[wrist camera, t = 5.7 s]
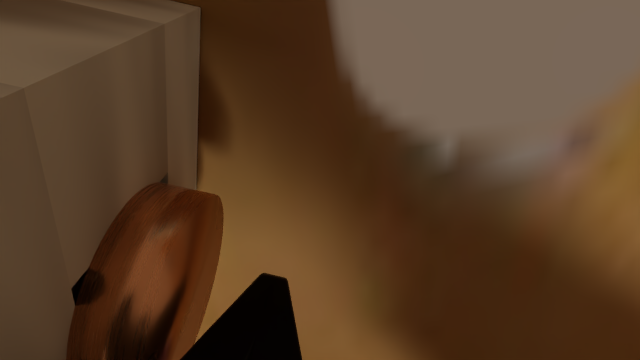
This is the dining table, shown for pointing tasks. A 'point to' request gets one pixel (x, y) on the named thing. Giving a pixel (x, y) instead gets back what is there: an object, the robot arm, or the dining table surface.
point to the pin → (149, 278)
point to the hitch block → (83, 143)
